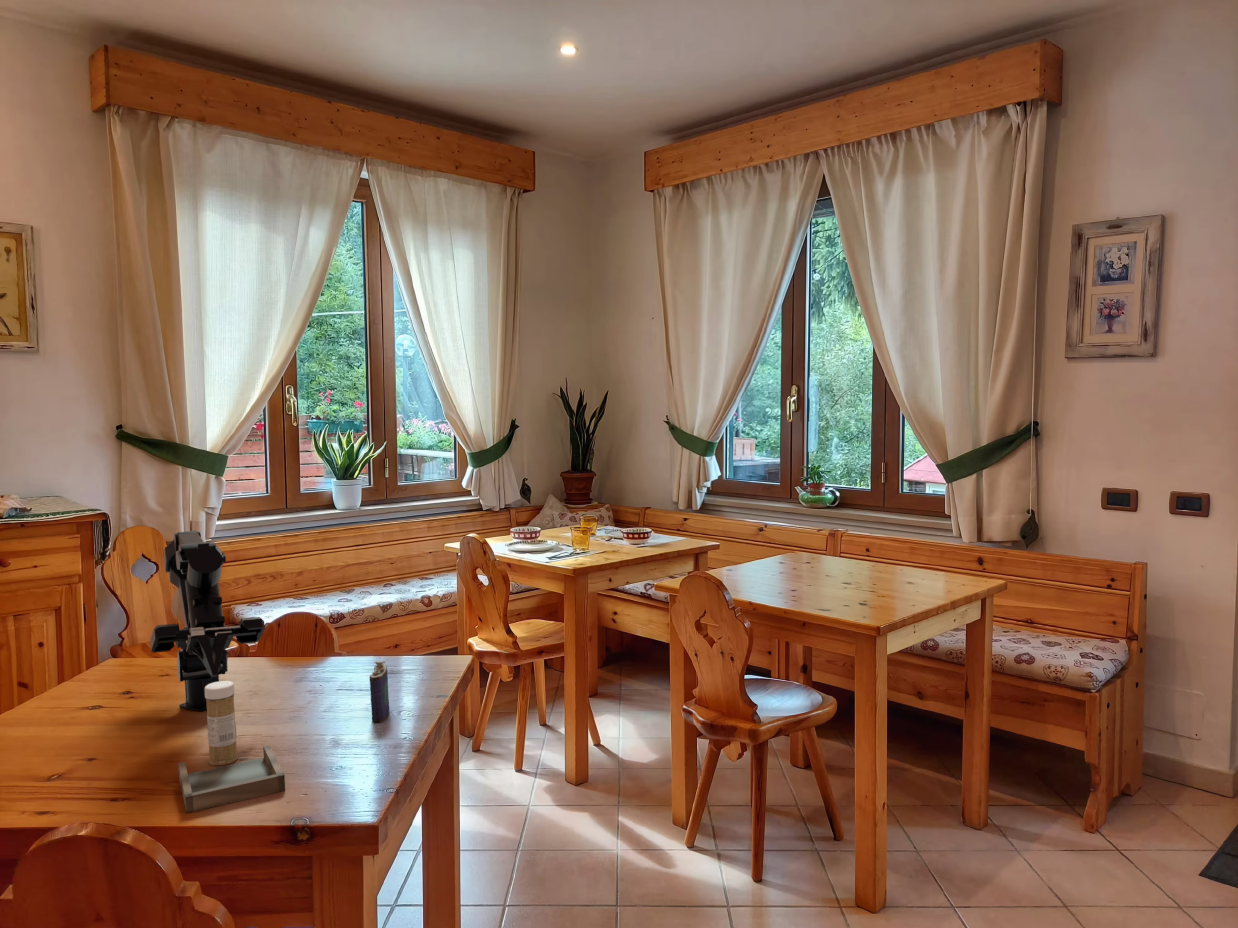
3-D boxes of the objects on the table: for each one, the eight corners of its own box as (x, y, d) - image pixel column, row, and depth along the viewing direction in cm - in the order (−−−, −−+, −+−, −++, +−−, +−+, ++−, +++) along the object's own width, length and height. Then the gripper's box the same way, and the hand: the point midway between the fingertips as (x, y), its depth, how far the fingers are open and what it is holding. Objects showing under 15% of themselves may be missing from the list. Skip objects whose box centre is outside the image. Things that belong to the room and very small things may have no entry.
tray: (178, 778, 141) (178, 763, 141) (270, 758, 148) (269, 744, 148) (186, 813, 129) (185, 796, 128) (285, 790, 136) (284, 774, 136)
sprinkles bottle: (237, 753, 151) (233, 678, 150) (238, 763, 147) (234, 685, 146) (208, 758, 149) (204, 682, 148) (208, 768, 145) (204, 690, 144)
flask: (376, 707, 173) (374, 654, 172) (392, 706, 173) (390, 653, 172) (370, 724, 164) (368, 668, 163) (386, 723, 164) (384, 668, 163)
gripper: (246, 617, 175) (258, 688, 167) (142, 626, 164) (149, 702, 156) (259, 589, 168) (271, 661, 160) (151, 596, 157) (159, 674, 149)
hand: (214, 675), depth 156 cm, fingers closed
